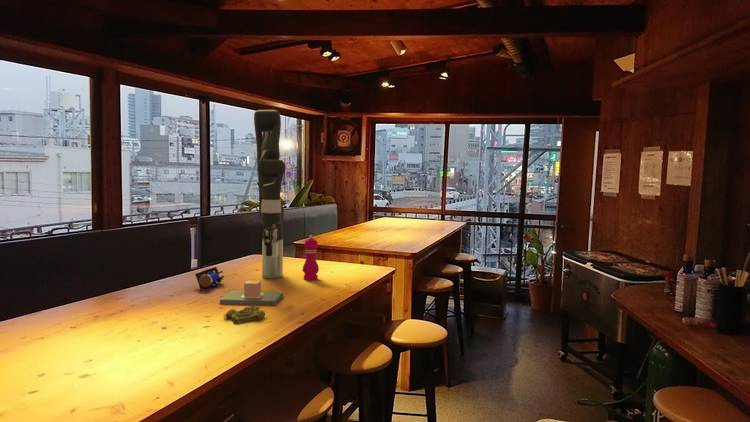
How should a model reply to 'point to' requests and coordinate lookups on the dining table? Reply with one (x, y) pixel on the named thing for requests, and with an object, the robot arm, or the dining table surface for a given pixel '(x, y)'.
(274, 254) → the sage block
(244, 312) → the spaceship toy
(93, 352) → the dining table surface
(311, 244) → the pepper mill
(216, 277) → the character figurine
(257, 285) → the terracotta block
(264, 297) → the base plate
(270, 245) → the robot arm
